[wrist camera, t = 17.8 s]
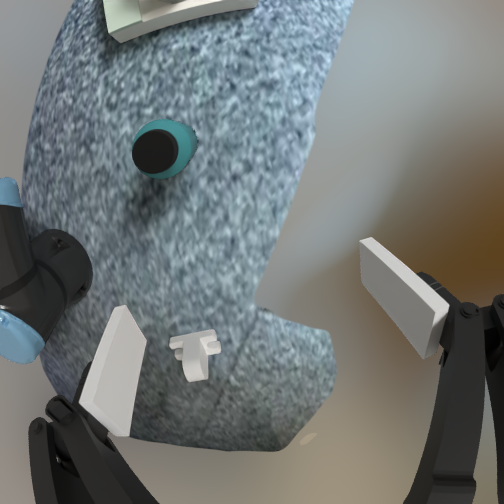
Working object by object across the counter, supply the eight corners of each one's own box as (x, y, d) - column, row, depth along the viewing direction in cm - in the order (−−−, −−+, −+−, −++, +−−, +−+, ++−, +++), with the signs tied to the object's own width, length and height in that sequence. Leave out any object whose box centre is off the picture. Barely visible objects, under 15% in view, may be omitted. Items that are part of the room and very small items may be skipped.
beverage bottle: (149, 140, 38) (101, 151, 21) (183, 113, 38) (159, 100, 20) (174, 171, 41) (145, 205, 23) (208, 145, 40) (204, 158, 22)
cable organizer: (221, 346, 57) (223, 381, 48) (178, 354, 57) (175, 389, 48) (214, 328, 55) (215, 364, 46) (169, 337, 55) (164, 373, 46)
